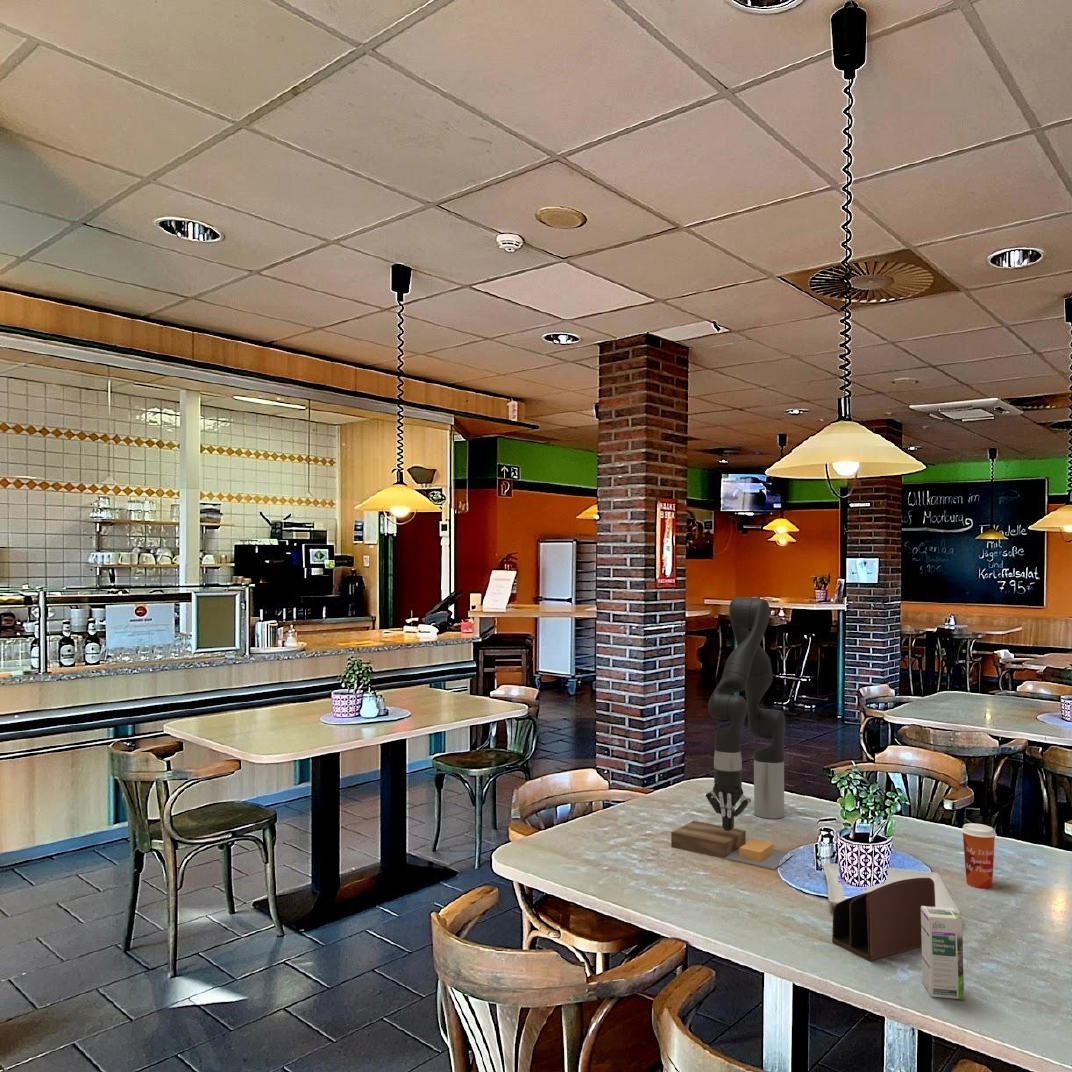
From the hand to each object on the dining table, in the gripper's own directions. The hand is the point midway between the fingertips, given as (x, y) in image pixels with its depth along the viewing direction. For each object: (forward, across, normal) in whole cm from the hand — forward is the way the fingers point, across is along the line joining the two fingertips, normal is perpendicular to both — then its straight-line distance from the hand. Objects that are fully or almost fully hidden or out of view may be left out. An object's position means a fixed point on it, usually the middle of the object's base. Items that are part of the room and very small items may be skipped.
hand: (728, 830), depth 234 cm
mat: (+6, -9, 0) cm, 11 cm away
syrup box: (+6, -64, +50) cm, 82 cm away
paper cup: (+6, -60, -14) cm, 62 cm away
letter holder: (+6, -50, +34) cm, 61 cm away
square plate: (+6, -44, +10) cm, 46 cm away
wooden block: (+6, +6, 0) cm, 8 cm away
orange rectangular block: (+4, -8, 0) cm, 9 cm away
